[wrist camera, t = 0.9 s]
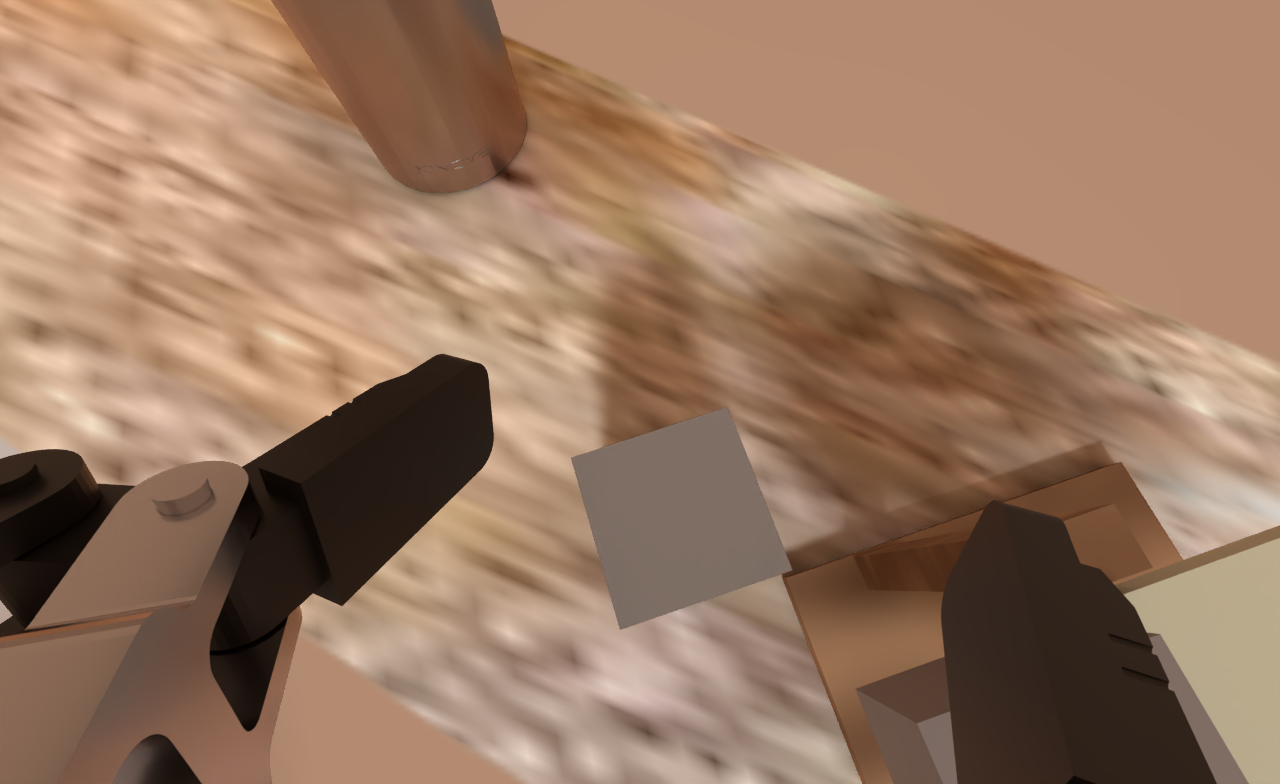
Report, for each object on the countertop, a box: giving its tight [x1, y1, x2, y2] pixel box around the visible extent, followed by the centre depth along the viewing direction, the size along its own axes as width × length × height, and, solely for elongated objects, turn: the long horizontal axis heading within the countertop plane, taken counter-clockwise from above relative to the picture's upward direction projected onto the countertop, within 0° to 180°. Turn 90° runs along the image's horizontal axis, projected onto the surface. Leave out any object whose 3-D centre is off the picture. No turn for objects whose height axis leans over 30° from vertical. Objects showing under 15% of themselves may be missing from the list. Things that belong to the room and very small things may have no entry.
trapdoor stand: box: [782, 462, 1183, 784], centre depth 16 cm, size 16×16×14 cm
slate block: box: [571, 407, 792, 630], centre depth 21 cm, size 5×5×10 cm
